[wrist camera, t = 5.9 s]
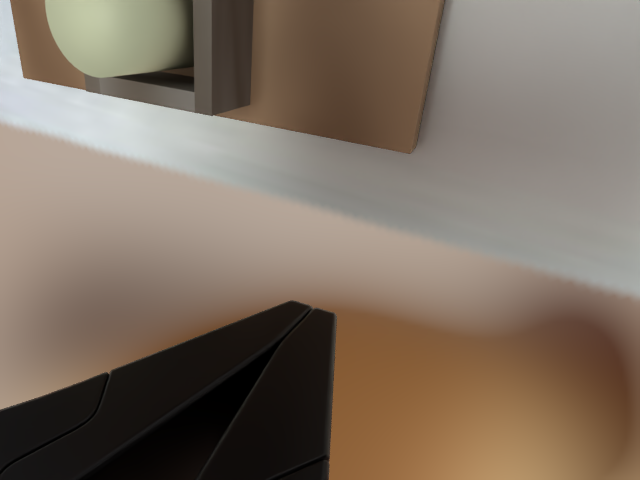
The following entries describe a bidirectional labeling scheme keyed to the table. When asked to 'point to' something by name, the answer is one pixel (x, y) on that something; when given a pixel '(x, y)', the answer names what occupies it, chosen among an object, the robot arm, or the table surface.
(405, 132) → the button panel
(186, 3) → the sage button
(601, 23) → the table surface
